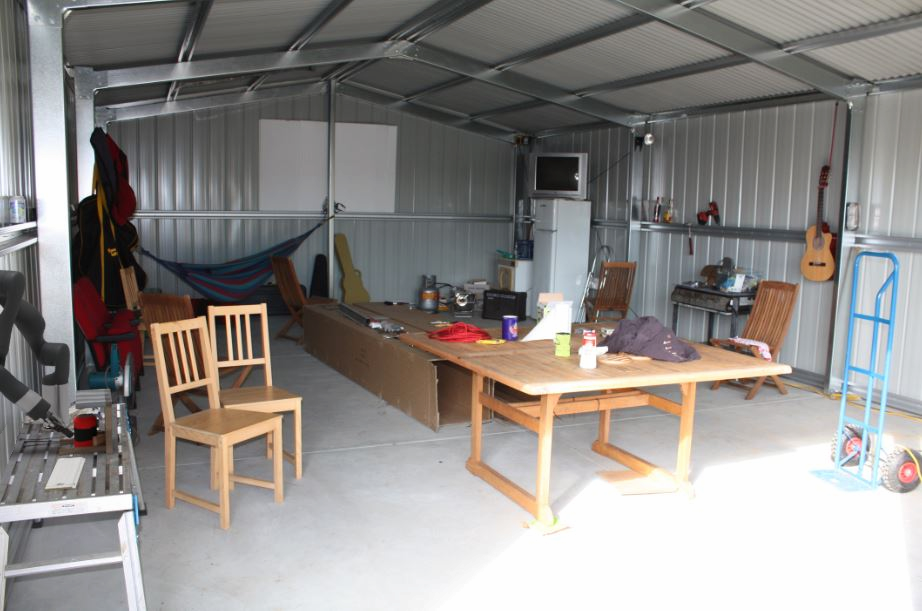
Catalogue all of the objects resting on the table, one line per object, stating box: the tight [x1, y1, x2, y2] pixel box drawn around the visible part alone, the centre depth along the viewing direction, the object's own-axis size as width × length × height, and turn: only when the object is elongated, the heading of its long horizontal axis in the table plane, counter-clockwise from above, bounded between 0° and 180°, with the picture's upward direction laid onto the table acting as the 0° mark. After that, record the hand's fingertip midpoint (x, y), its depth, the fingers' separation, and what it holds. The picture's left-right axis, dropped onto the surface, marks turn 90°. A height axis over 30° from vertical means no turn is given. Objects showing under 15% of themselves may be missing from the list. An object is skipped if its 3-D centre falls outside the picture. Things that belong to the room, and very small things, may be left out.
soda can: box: [73, 413, 98, 448], centre depth 282 cm, size 8×8×12 cm
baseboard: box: [43, 456, 86, 492], centre depth 255 cm, size 30×3×10 cm
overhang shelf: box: [58, 388, 113, 456], centre depth 281 cm, size 20×17×19 cm
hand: (72, 435), depth 280 cm, fingers closed
